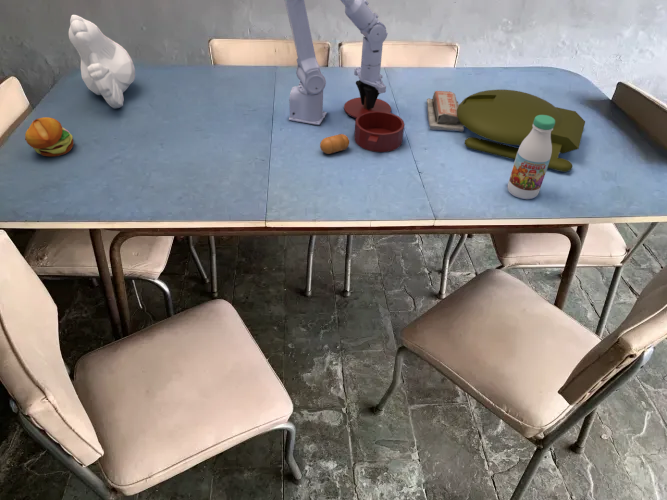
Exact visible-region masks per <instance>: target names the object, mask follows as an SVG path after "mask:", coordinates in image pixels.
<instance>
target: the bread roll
mask: <svg viewBox="0 0 667 500" xmlns="http://www.w3.org/2000/svg"><path fill="white" fill-rule="evenodd" d="M349 146H350V138H349V137H348V136H347V135H346V134H344V133H339V134H335V135H330V136H327V137H324V138H322V140H321V141H320V144H319V148H320V150H321V152H322V153H324V154H327V155H330V154H334V153H338V152H342V151H345V150H347V149H348V148H349Z"/></svg>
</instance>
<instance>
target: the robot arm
mask: <svg viewBox="0 0 667 500" xmlns="http://www.w3.org/2000/svg"><path fill="white" fill-rule="evenodd" d="M339 1H340V2H341V3H342V4H343V5H344V14H345V16H346V17H347V18H348V19H349V20H350V21H351V22H352V23H353V25H354V26H355V27H356V28H357V30H358V31H359V32H360V34H362V35H363V36H362V45H361V46H362V47H361V60H360V67H355V68H354V71H353V75H354V76H356V77H358V79H359V80H356V81H355V85H356V87H357V89H358V93H359V97H360V98H361V103H362V105H364V96H365V95H366V107H367V109H371V108H374V105H375V102H376V100H377V99H378V97H379V96H380V95H381V94H385V93H386V92H387V85H386V84H384V82H383V80H382V79H383V77H384V76H383V74H381V67H382V59H383V58H382V57H383V56H382V55H383V46H384V42H385V41H386V40H387V37H388V32H387V27H386V25H385V24H384V23H383V22H381V20H380V19H379V15H378V14H377V13H376V12H373V10H372V9H371V8H370V7H369V6H368V5H369V2H368V1H367V0H339ZM284 3H285V7H286V11H287V12H286V13H287V17H288V21H289V25H290V31H291V35H292V39H293V43H294V49H295V52H296V56H297V58H296V64H297V66H296V70H295V74H296V77H297V79H298V80H299V82H298V85H297V86H296V85H294V86H292V87H291V89H290V94H289V99H288V101H289V102H288V103H289V118H288V120H289V121H292V122H296V123H304V124H310V125H315V126H320V125H321V124H322V122H323V121H324V119H325V117H326V116H327V114H328V112H327V111H324V89H325V88H326V85H327V80H326V77H325V76H324V75H323V73H322V71H321V67H320V64H319V62H318V60H317V59H318V58H317V57H316V51H315V46H314V42H313V37H312V33H311V28H310V22H309V17H308V12H307V7H306V3H305V0H284Z"/></svg>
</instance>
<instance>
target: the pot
mask: <svg viewBox="0 0 667 500" xmlns="http://www.w3.org/2000/svg"><path fill="white" fill-rule="evenodd" d="M390 112H391V113H390ZM354 122H355V123H354V137H353V138H354V142H355V144H356V145H357V146H359V148H361V149H364V150H367V151H370V152H375V153H387V152H392V151H395V150H397V149H399V148H400V147H401V146H402V145H403V140H404V132H405V125H406V124H405V122H404V119H402V117H400V116H399V115H397V114H395V113H392V110H391V111H390V110H384V109H383V110H382V111H371V112H366V113H363V114H361V115H359V116H358V117H357V118H355V121H354Z"/></svg>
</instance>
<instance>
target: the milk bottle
mask: <svg viewBox="0 0 667 500" xmlns="http://www.w3.org/2000/svg"><path fill="white" fill-rule="evenodd" d="M554 125H555V119H554V118H552V117H550V116H547V115H538V116H536V117H535V119H534V122H533V129H532V130H531V132H530V133H529V135H528V136H527V137H526V138H525V139H524V140H523V141H522V143H521V145H519V147H518V148H519V149H518V152H517V155H516V159H515V160H514V162H513V165H512V169H511V171H510V176H509V179H508V181H507V191H508V193H510V194H511V195H512V196H513V197H516V198H518V199H522V200H532V199H534V198H536V197H537V196H538V195H539V193H540V190H541V188H542V185H543V182H544V180H545V177H546V173H547V171H548V168H547V167H548V164H549V161H550V158H551V154H552V144H551V131H552V130H553V127H554Z"/></svg>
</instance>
